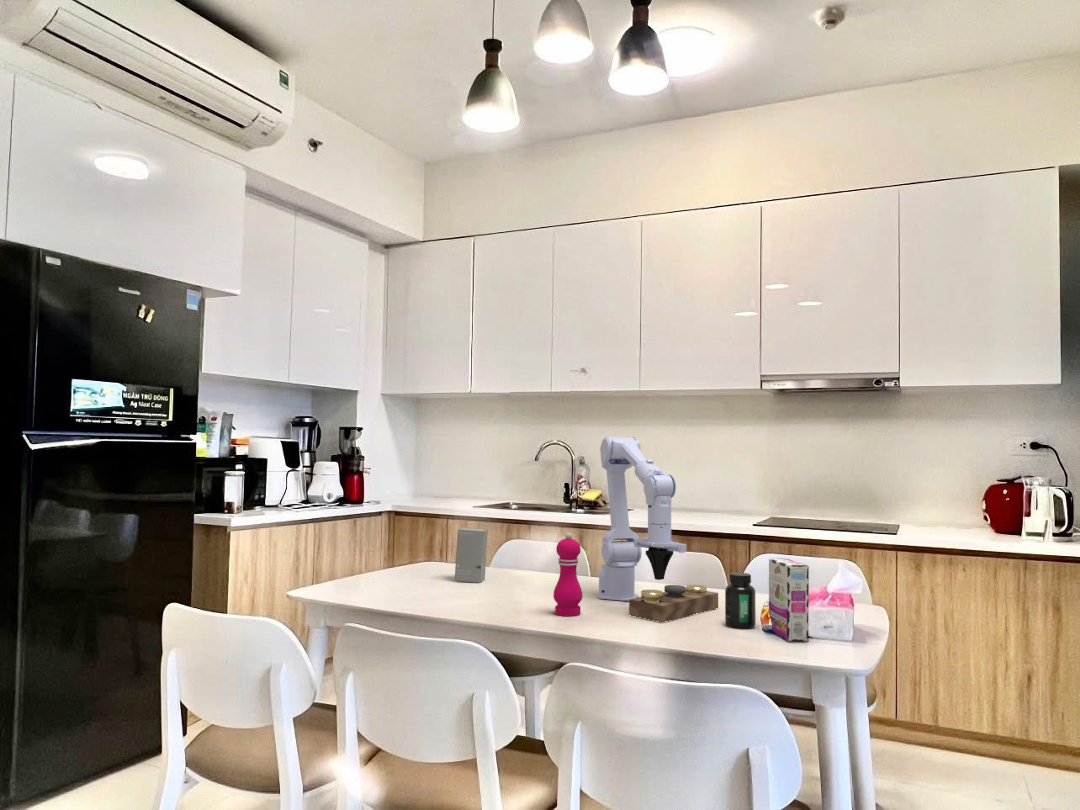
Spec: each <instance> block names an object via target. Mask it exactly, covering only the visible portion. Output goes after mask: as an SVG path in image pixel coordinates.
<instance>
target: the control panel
mask: <svg viewBox="0 0 1080 810" xmlns="http://www.w3.org/2000/svg"><path fill="white" fill-rule="evenodd" d="M684 587H685V593H682V597H681V598H672V597H668V593H667V592H665V591H662V592H663V597H662V598H659V603H655V604H652V603H647V602H644V598H643V597H641V596H638V597H637V598H633V599H629V601H628V602H629V603H628V605H629V606H628V608H629V609H628V610H629V611H628V616H629V615H631V616H630V617H632V616H636V617H635V618H637V617H641V618H646V619H650V620H649V621H651V620H654V621H653V622H655V621H659V622H658V623H660V622H665V621H669V620H672V621H675V620H674V619H676V620H679V619H678V618H680V619H683V617H684V618H687V616H688V617H691V616H690V615H692V616H694V615H693V614H696V613H699V614H701V613H700V612H703V613H705V612H704V611H707V612H709V611H708V610H711V611H713V610H712V609H715V610H717V609H716V608H718V609H719V592H717V591H709V590H707V592H706V593H699V594H698V593H690V592H687V591H686V586H684ZM696 615H697V614H696ZM641 618H640V619H641ZM646 619H645V620H646ZM669 622H670V621H669ZM665 623H666V622H665Z"/></svg>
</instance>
